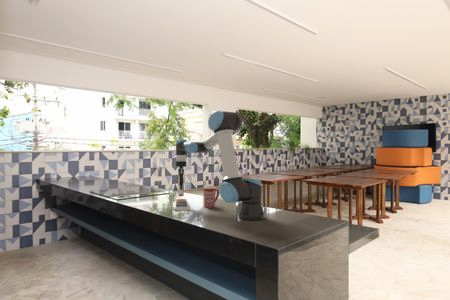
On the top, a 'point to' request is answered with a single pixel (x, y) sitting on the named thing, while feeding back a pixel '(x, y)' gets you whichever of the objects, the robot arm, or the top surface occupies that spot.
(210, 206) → the mug
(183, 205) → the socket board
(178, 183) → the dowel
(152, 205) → the top surface
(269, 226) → the top surface
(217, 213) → the top surface
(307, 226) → the top surface
